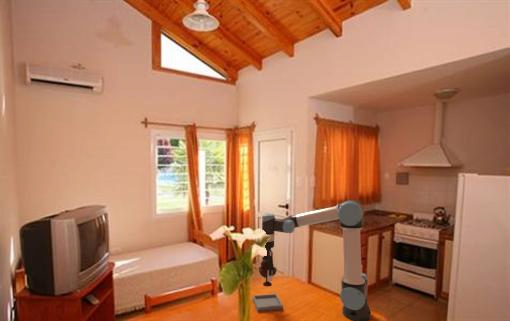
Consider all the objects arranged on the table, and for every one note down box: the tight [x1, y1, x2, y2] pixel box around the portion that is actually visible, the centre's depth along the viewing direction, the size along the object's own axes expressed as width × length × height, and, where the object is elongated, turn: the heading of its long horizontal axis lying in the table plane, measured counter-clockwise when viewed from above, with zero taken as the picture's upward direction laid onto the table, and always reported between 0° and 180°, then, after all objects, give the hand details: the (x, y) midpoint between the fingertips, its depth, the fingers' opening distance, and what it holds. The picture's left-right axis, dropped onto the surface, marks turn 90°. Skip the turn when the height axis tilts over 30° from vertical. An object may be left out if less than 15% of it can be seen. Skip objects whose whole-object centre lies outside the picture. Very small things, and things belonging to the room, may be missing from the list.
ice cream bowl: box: [258, 260, 277, 288], centre depth 164 cm, size 11×11×15 cm
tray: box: [252, 293, 284, 313], centre depth 163 cm, size 15×15×2 cm
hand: (267, 277), depth 164 cm, fingers closed on ice cream bowl, 11 cm apart
